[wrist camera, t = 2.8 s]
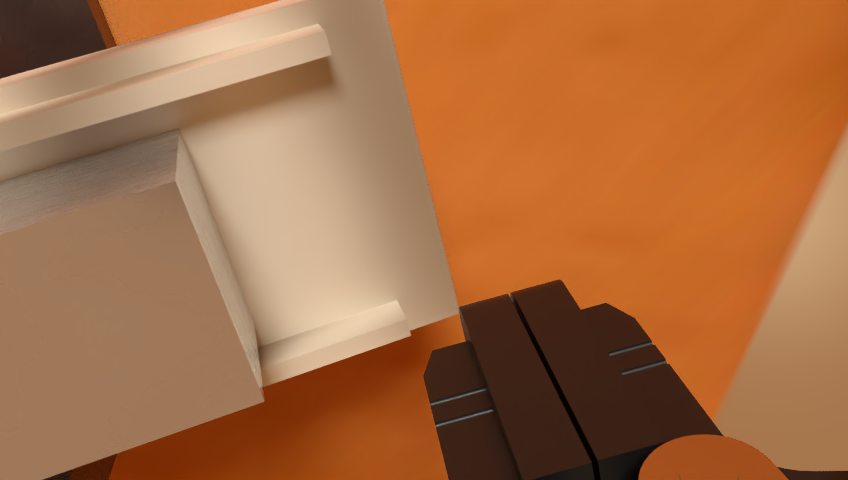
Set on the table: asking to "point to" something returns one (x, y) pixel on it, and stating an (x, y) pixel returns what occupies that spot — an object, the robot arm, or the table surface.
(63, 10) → the stand
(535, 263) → the table surface
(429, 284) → the beam
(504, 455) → the robot arm
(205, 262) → the rider
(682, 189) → the table surface
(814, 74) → the table surface
